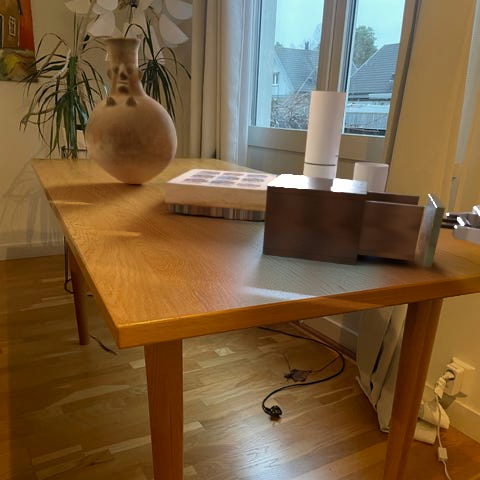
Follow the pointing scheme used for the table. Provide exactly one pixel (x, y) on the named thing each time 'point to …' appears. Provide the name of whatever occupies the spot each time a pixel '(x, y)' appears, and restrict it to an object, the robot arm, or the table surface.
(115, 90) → the vase
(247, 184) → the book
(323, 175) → the cylindrical container
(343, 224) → the cabinet
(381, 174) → the mug
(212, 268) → the table surface
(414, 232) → the drawer
